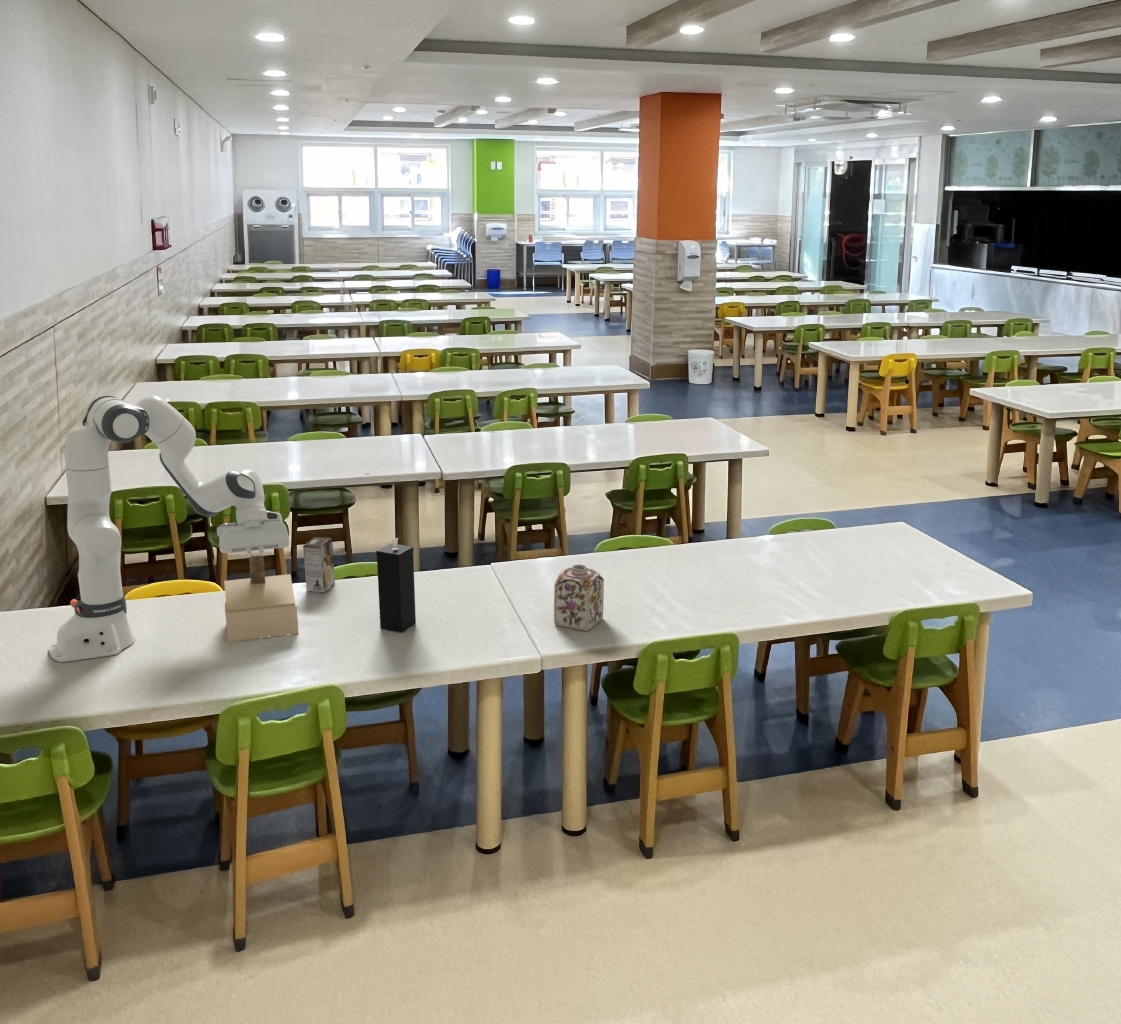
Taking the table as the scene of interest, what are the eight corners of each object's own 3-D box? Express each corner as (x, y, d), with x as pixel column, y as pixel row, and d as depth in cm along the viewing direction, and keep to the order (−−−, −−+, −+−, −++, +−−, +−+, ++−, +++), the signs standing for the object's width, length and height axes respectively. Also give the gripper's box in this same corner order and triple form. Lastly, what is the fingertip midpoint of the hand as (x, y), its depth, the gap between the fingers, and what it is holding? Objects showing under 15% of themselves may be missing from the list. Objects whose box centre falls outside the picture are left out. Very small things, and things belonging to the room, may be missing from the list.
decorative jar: (552, 625, 325) (553, 569, 320) (569, 612, 335) (569, 557, 330) (589, 632, 321) (589, 575, 315) (604, 618, 331) (605, 563, 325)
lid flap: (226, 612, 310) (224, 588, 305) (224, 583, 321) (222, 559, 316) (295, 605, 316) (293, 581, 311) (290, 576, 327) (289, 552, 322)
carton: (228, 641, 313) (225, 613, 310) (226, 623, 325) (224, 595, 323) (298, 633, 318) (296, 605, 316) (294, 616, 331) (292, 588, 329)
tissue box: (416, 624, 326) (413, 536, 318) (402, 633, 319) (398, 544, 311) (394, 619, 329) (390, 532, 321) (379, 628, 322) (375, 540, 314)
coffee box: (317, 581, 359) (314, 536, 354) (335, 583, 358) (332, 537, 353) (305, 591, 351) (302, 545, 346) (324, 593, 349) (321, 546, 345)
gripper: (215, 519, 321) (219, 561, 315) (286, 513, 327) (291, 554, 321) (216, 529, 326) (220, 570, 320) (286, 522, 332) (291, 563, 326)
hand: (256, 562), depth 321 cm, fingers closed, pressing on lid flap
